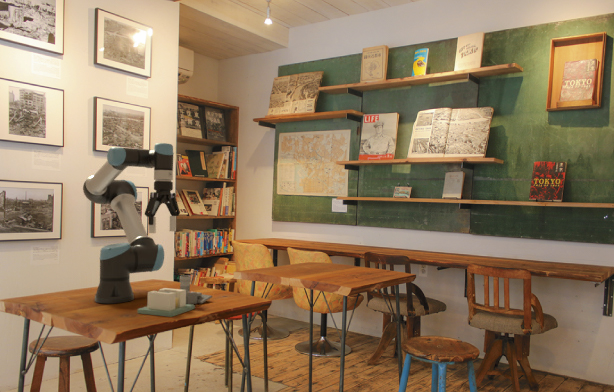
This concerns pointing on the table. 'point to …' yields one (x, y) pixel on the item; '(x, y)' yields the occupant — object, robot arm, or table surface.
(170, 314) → the board
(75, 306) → the table surface
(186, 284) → the camera
